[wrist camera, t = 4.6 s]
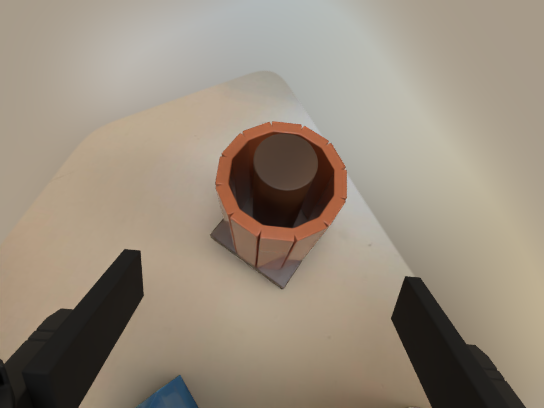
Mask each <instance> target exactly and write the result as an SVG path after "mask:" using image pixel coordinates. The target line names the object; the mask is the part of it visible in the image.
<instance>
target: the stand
mask: <svg viewBox="0 0 544 408" xmlns="http://www.w3.org/2000/svg"><path fill="white" fill-rule="evenodd" d="M317 169H318V159H317V155H316V153H315V151H314V149H313V148H312V146H311V145H310V144H309V143H308V142H307V141H306V140H304V139H303V138H301V137H299V136H296V135H293V134H285V133H283V134H276V135H272V136H270V137H268V138H266V139H265V140H263V141H262V142H261V143H260V144H259V146H258V147H257V149H256V151H255V153H254V158H253V198H250V199H249V200H248V201H247V203H246V204H245V205H244V206H243V208H242V209H241V210H242V211H243V212H245V213H246V214H248V215H249V216H251V217H252V218H254V219H255V220H256V221H258V222H259V223H261V224H262V225H266V226H276V227H286V228H295V227H297V226H299V225H302V224H304V223H306V222H307V218H306V216H305V214H304V212H303V210H302V208H301V207H302V205H303V203H304V200H305V198H306V196H307V193H308V191H309V189H310V186H311V184H312V182H313V179H314V177H315V174H316V172H317ZM210 235H211V238H213V239H214V240H215V241H217V242H218V243H219V244H221V245H222V246H224V247H225V248H226V249H228V250H229V251H230V252H232V253H233V254H235V255H236V256H237V257H239V258H240V259H241V260H243V261H244V262H246V263H247V264H248V265H250V266H251V267H252V268H254V269H255V270H256V271H258V272H259V273H261V274H262V275H263V276H265V277H266V278H267V279H269V280H270V281H272V282H273V283H274V284H276V285H277V286H278V287H280V288H281V289H283V288H284V287H285V286H286V284H287V283H288V281H289V280H290V278H291V277H292V275H293V274H294V272H295V271H296V269H297V268H298V266H299V265H300V263H301V262H302V260H303V259H302V260H301V261H300V262H298V263H296V264H293V265H291V266H289V267H287V268H285V269H283V270H281V268H280V270H271V269H261V268H257V265H256V266H255V267H254V266H253V265H251V264H250V263H248V262H247V261H246V260H244V259H243V258H241V257H240V256H239V255H238V254H237V252H235V250H234V248H233V245H232V243H231V241H230V238H229V236H228V234H227V230H226V226H225V222H224V218H223V220H222V221H221V222H220V223H219V224H218V226H217V227H216V228H215V229H214V231H213V232H212V233H211V234H210Z"/></svg>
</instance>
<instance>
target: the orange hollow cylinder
mask: <svg viewBox="0 0 544 408" xmlns="http://www.w3.org/2000/svg"><path fill="white" fill-rule="evenodd" d="M301 128H302V125H301V124H292V123H283V122H274V121H273V122H272V125H271V123H270V122H268V123H265V124H262V125H259V126H256V127H253V128H250V129H248V130H245V131H243V134H241V133H240V134H239V135H238V136H237V137H236V138H235V139H234V140H233V141H232V143H231V144H230V145H229V146H228V147H227V148H226V149H225V150H224V151H223V153H222V157H220V159H219V165H218V171H217V176H216V182H215V184H216V191H217V195H218V199H219V203H220V207H221V211H222V214H223V218H224V222H225V226H226V230H227V234H228V236H229V238H230V241H231V243H232V245H233V248H234V250H235V252H237V254H238V255H239V256H240V257H241V258H243V259H244V260H246V261H247V262H248V263H250V264H251V265H253V266H254V267H255V266H256V265H257V268H261V269H271V270H280V268H281V270H283V269H285V268H287V267H289V266H291V265H293V264H296V263H298V262H300V261H301V260H302V259H304V257H305V256H306V255H307V254H308V252H309V251H310V250H311V249H312V247H313V246H314V245H315V244H316V242H317V241H318V240H319V239H320V237H321V236H322V235H323V234H324V232H325V231H326V230H327V228H328V227H329V226H330V225H331V223H332V222H333V220H334V219H335V217H336V215H337V214H338V212H339V211H340V209H341V208H342V206H343V205H344V203H345V200H346V198H347V170H344V169H345V165H344V163H343V162H342V160H341V158H340V157H339V155H338V154H337V152H336V150H335V149H334V147H333V145H332V144H331V143H330V144H328V142H329V141H328V140H327V139H325V138H323V137H322V136H320V135H319V134H317V133H315V132H314V131H312V130H310V129H309V128H307V127H306V126H304V127H303V128H302V129H301ZM283 133H285V134H293V135H296V136H299V137H301V138H303V139H304V140H306V141H307V142H308V143H309V144H310V145H311V146H312V148H313V149H314V151H315V153H316V155H317V159H318V169H317V172H316V174H315V177H314V179H313V182H312V184H311V186H310V189H309V191H308V193H307V196H306V198H305V200H304V203H303V205H302V207H301V208H302V210H303V212H304V214H305V216H306V218H307V222H306V223H304V224H302V225H299V226H297V227H295V228H286V227H276V226H266V225H262V224H261V223H259V222H258V221H256V220H255V219H254V218H252V217H251V216H249V215H248V214H246V213H245V212H243V211H242V210H241V209H242V208H243V206H244V205H245V204H246V203H247V201H248V200H249V199H250V198H253V158H254V153H255V151H256V149H257V147H258V146H259V144H260V143H261V142H262V141H263V140H265V139H266V138H268V137H270V136H272V135H276V134H283Z"/></svg>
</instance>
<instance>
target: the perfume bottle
mask: <svg viewBox="0 0 544 408" xmlns="http://www.w3.org/2000/svg"><path fill="white" fill-rule="evenodd" d="M136 408H198V406H197V404H196V402H195V401H194V399H193V397H192V395H191V393H190V392H189V390H188V388H187V386H186V385H185V383H184V381H183V379H182V377H181V376H180V375H179V376H178V377H176V378H175V379H174V380H172V381H171V382H169V383H168V384H166V385H165V386H164V387H162V388H161V389H159V390H158V391H157V392H155V393H154V394H153V395H151V396H150V397H149V398H147V399H146V400H145V401H143V402H142V403H141V404H139V405H138V406H137V407H136Z"/></svg>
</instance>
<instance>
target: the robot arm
mask: <svg viewBox="0 0 544 408" xmlns="http://www.w3.org/2000/svg"><path fill="white" fill-rule="evenodd" d="M143 296H144V292H143V279H142V265H141V252H140V251H139V250H128V249H124V250H123V252H122V253H121V254H120V255H119V256H118V257H117V259H116V260H115V261H114V262H113V263H112V265H111V266H110V267H109V268H108V269H107V270H106V272H105V273H104V274H103V275H102V276H101V278H100V279H99V280H98V281H97V282H96V284H95V285H94V286H93V287H92V288H91V289H90V291H89V292H88V293H87V294H86V295H85V297H84V298H83V299H82V300H81V301H80V302H79V304H78V305H77V306H76V307H75V308H74V310H72V309H60V310H58V311H57V312H55V313H53V314H52V315H50V316H49V317H47V318H46V319H45V320H44V321H43V323H42V324H41V325H40V326H39V327H38V328H37V330H36V331H34V332H33V333H32V334H31V336H30V337H29V338H28V340H26V341H25V342H24V343H23V344H22V345H21V346H20V347H19V349H18V350H17V351H16V352H15V353H14V354H13V355H12V356H11V357H10V358H9V359H8V360H7V362H6V363H5V364H4V363H3V361H2V360H1V359H0V408H78V407H79V405H80V404H81V402H82V400H83V399H84V397H85V395H86V393H87V392H88V390H89V388H90V387H91V385H92V383H93V382H94V380H95V378H96V376H97V375H98V373H99V371H100V370H101V368H102V366H103V364H104V363H105V361H106V359H107V358H108V356H109V354H110V352H111V351H112V349H113V347H114V346H115V344H116V342H117V341H118V339H119V337H120V335H121V334H122V332H123V330H124V329H125V327H126V325H127V323H128V322H129V320H130V318H131V317H132V315H133V313H134V311H135V310H136V308H137V306H138V305H139V303H140V301H141V300H142V298H143ZM391 320H392V322H393V324H394V326H395V328H396V331H397V333H398V335H399V337H400V339H401V341H402V344H403V346H404V348H405V350H406V352H407V354H408V357H409V359H410V361H411V363H412V365H413V367H414V370H415V372H416V374H417V376H418V378H419V380H420V383H421V385H422V387H423V389H424V391H425V393H426V396H427V398H428V400H429V402H430V404H431V406H432V408H526V407H525V406H524V405H523V403H522V402H521V400H520V399H519V398H518V396H517V395H516V394H515V392H514V391H513V389H512V388H511V387H510V385H509V384H508V383H507V381H505V380H504V378H503V376H502V375H501V373H500V372H499V371H497V368H496V367H495V365H494V364H493V362H492V361H491V360H490V359H489V357H488V356H487V355H486V354H485V353H483V351H481V350H480V349H479V348H478V347H477V346H476V345H468V344H466V343H465V342H464V340H463V339H462V337H461V336H460V335H459V333H458V332H457V330H456V329H455V327H454V326H453V324H452V323H451V321H450V320H449V319H448V317H447V316H446V314H445V313H444V311H443V310H442V309H441V307H440V306H439V304H438V303H437V301H436V300H435V298H434V297H433V295H432V294H431V293H430V291H429V290H428V288H427V287H426V285H425V284H424V282H423V281H422V280H421V278H418V277H408V276H405V278H404V281H403V284H402V287H401V290H400V293H399V296H398V299H397V302H396V305H395V308H394V311H393V314H392V317H391Z"/></svg>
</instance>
